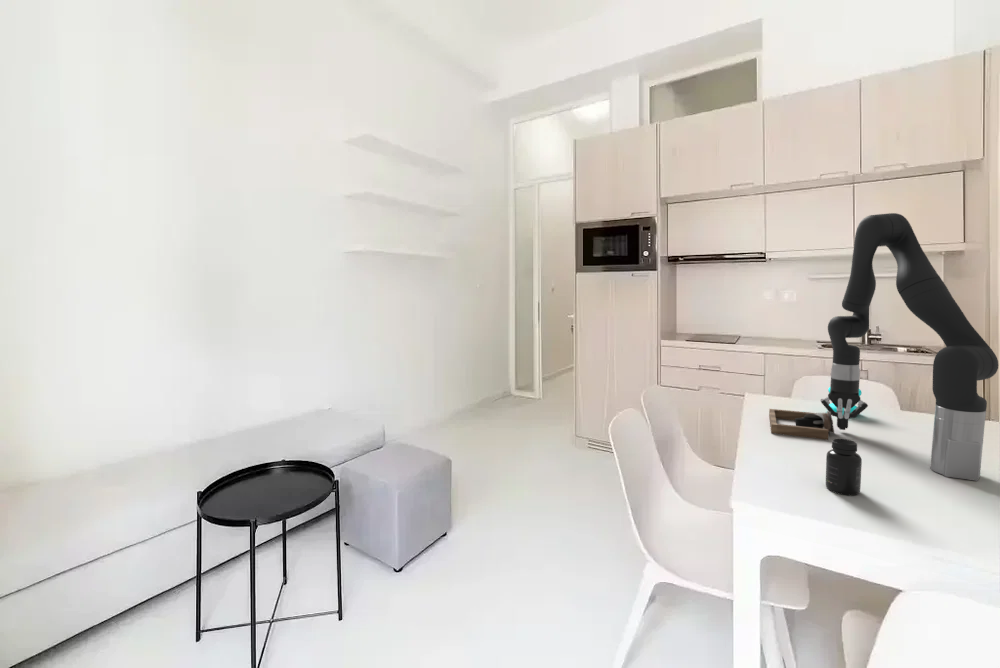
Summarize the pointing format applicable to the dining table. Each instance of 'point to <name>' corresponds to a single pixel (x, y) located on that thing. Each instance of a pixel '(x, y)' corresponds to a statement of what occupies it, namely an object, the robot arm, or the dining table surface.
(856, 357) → the robot arm
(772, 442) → the dining table surface
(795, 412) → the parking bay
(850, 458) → the supplement bottle
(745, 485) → the dining table surface
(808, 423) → the caster wheel
